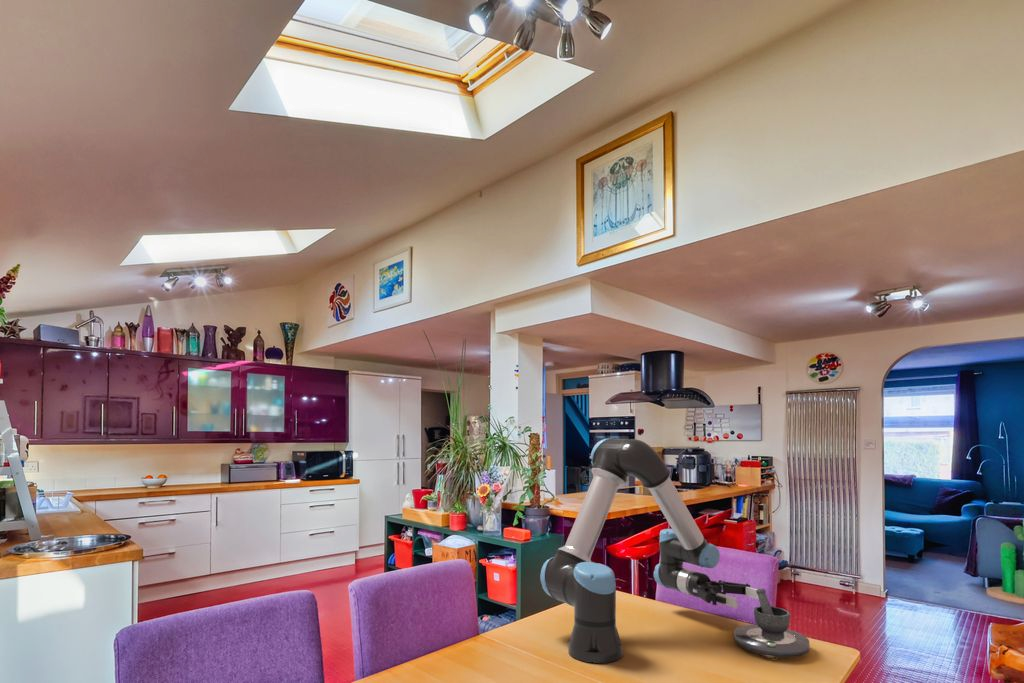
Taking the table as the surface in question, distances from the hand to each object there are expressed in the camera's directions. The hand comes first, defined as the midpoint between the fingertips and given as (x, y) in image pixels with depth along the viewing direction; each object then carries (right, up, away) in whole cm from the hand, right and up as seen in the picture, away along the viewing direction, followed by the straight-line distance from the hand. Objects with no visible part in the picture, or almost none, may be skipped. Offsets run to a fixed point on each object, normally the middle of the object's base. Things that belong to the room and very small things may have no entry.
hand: (751, 599), depth 180 cm
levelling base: (+3, -11, -7) cm, 14 cm away
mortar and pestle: (+4, -8, -6) cm, 10 cm away
